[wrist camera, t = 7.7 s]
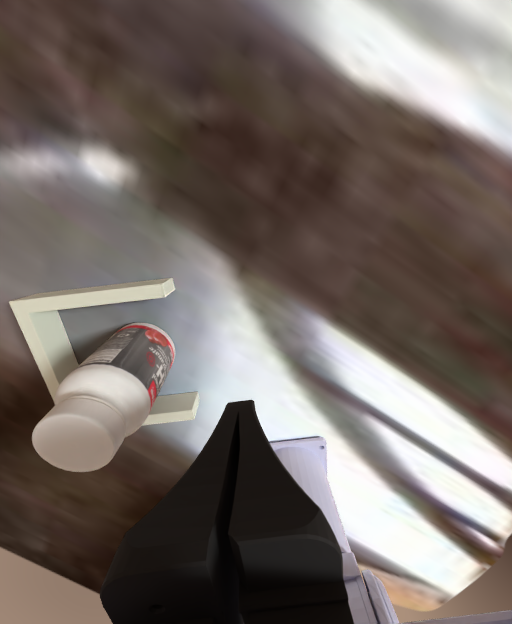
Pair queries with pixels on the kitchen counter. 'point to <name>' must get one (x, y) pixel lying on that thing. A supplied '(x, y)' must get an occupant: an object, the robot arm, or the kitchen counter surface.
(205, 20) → the kitchen counter surface
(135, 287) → the u-shaped bracket
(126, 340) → the pill bottle
